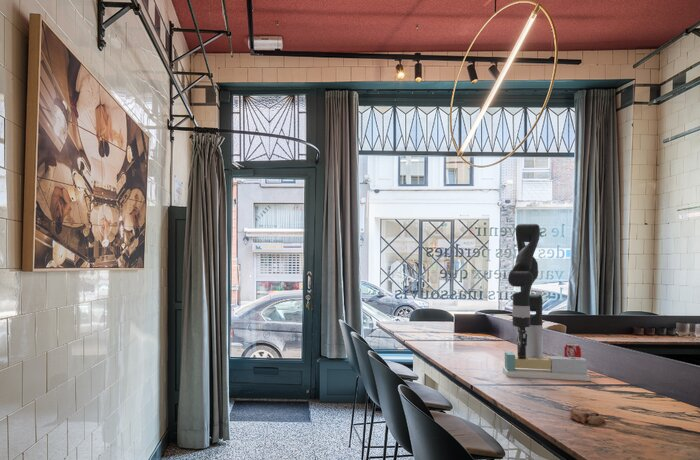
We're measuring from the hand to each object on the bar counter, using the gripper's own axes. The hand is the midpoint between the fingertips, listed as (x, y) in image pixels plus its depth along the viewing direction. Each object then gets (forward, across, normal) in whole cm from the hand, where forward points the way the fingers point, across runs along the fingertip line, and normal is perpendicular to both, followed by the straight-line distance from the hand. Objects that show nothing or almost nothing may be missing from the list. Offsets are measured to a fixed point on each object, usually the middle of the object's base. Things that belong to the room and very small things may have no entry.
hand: (521, 354), depth 210 cm
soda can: (+9, -14, +25) cm, 30 cm away
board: (+9, 0, +10) cm, 13 cm away
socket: (+7, 0, -5) cm, 8 cm away
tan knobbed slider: (+6, 0, +5) cm, 8 cm away
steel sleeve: (+7, 0, +19) cm, 20 cm away
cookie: (+9, +60, +9) cm, 61 cm away
